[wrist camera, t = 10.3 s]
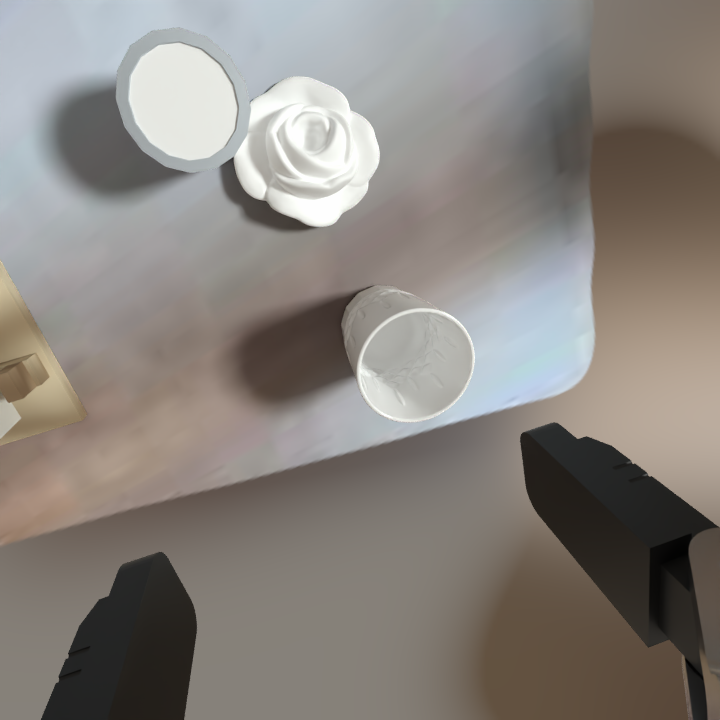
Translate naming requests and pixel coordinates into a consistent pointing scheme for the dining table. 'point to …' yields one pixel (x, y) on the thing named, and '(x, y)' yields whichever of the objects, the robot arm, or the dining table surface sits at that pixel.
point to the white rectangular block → (7, 416)
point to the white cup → (406, 354)
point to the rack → (31, 371)
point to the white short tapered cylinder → (183, 100)
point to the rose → (306, 152)
